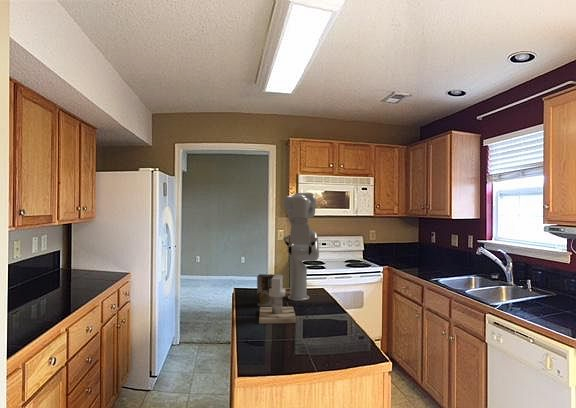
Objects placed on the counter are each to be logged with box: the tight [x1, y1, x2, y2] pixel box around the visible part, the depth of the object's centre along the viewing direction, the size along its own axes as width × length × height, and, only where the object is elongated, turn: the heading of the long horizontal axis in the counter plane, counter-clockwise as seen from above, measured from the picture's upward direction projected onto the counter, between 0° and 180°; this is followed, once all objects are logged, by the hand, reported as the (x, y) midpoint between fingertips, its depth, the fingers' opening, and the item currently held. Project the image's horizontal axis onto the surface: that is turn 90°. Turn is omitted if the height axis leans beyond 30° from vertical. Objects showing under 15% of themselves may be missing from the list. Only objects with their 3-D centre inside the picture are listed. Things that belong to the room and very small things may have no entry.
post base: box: [258, 297, 297, 325], centre depth 170 cm, size 20×17×10 cm
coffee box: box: [256, 273, 275, 307], centre depth 191 cm, size 9×6×16 cm
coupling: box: [269, 274, 291, 298], centre depth 170 cm, size 10×11×9 cm
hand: (300, 254), depth 180 cm, fingers open, 9 cm apart
